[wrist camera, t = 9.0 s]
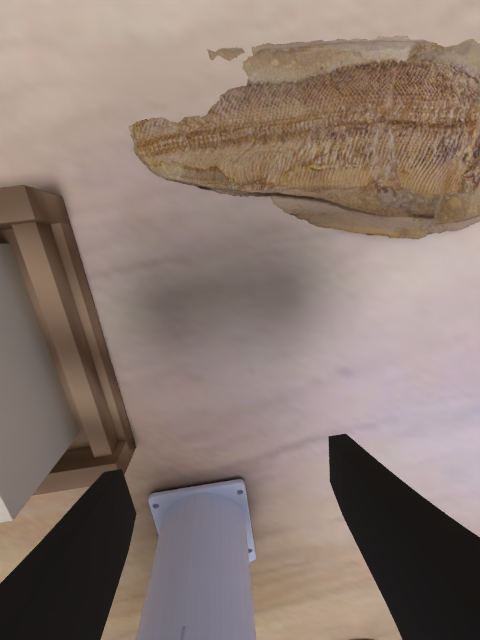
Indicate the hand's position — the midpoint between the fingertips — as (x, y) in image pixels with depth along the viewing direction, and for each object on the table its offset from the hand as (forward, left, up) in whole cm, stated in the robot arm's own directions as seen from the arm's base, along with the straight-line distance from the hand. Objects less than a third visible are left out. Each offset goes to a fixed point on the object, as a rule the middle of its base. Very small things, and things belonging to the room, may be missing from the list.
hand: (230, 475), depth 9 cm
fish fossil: (+13, -9, -10) cm, 19 cm away
